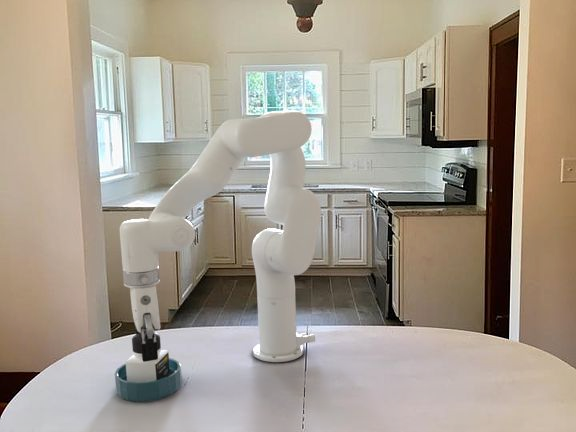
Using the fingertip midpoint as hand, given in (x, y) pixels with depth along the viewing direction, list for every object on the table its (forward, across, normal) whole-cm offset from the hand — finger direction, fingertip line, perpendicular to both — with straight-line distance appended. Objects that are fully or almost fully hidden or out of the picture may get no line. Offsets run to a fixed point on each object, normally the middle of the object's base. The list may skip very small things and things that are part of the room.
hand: (147, 352), depth 133 cm
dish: (+8, 0, 0) cm, 8 cm away
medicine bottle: (+8, 0, 0) cm, 8 cm away
